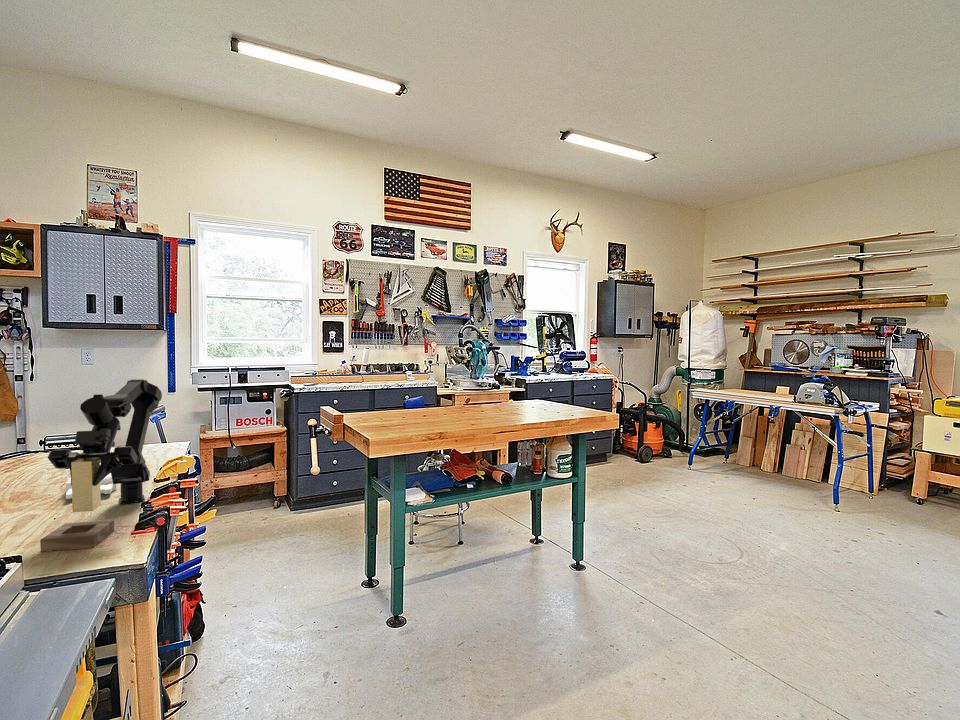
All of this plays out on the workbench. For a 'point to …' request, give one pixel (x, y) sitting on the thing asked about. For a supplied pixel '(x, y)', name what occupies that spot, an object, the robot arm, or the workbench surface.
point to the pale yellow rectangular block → (85, 485)
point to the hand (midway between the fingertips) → (83, 485)
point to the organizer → (105, 486)
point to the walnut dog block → (77, 535)
